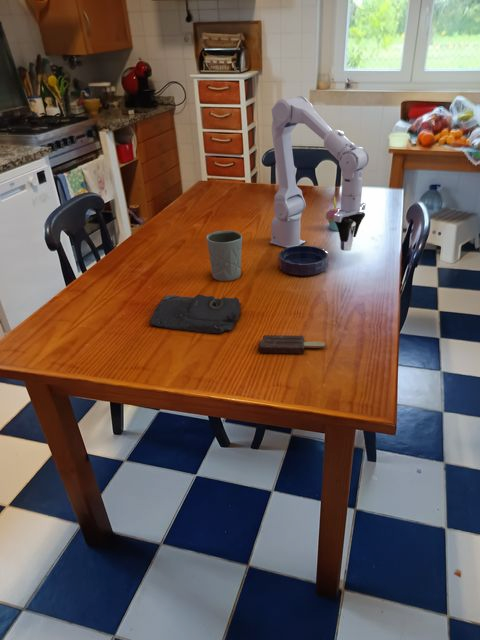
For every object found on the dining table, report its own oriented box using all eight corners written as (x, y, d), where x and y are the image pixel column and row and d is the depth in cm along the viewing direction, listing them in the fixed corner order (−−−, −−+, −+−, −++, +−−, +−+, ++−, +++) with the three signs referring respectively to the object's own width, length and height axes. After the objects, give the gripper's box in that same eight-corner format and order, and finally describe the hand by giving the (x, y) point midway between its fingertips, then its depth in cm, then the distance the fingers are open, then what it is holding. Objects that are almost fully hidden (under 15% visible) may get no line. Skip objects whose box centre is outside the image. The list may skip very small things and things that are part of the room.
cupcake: (333, 233, 171) (335, 199, 164) (320, 226, 177) (322, 193, 170) (353, 229, 174) (356, 195, 167) (340, 222, 180) (342, 190, 174)
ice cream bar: (324, 341, 113) (259, 340, 114) (324, 335, 112) (259, 334, 113) (325, 354, 108) (258, 353, 109) (325, 348, 107) (258, 347, 108)
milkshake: (355, 252, 147) (359, 219, 142) (337, 251, 148) (340, 218, 142) (356, 247, 151) (359, 215, 145) (338, 246, 152) (341, 214, 146)
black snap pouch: (168, 298, 133) (165, 283, 130) (246, 305, 128) (245, 289, 126) (144, 327, 120) (141, 310, 118) (230, 335, 116) (228, 318, 113)
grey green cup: (204, 279, 142) (200, 240, 136) (218, 266, 150) (215, 228, 144) (236, 283, 139) (233, 244, 133) (249, 270, 147) (247, 231, 140)
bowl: (269, 269, 147) (268, 256, 145) (297, 253, 157) (298, 241, 154) (309, 281, 139) (309, 268, 137) (336, 264, 149) (337, 252, 146)
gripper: (350, 202, 133) (346, 249, 141) (376, 190, 142) (371, 234, 150) (328, 197, 137) (326, 243, 144) (355, 186, 146) (351, 229, 154)
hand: (347, 238), depth 147 cm, fingers closed on milkshake, 4 cm apart
